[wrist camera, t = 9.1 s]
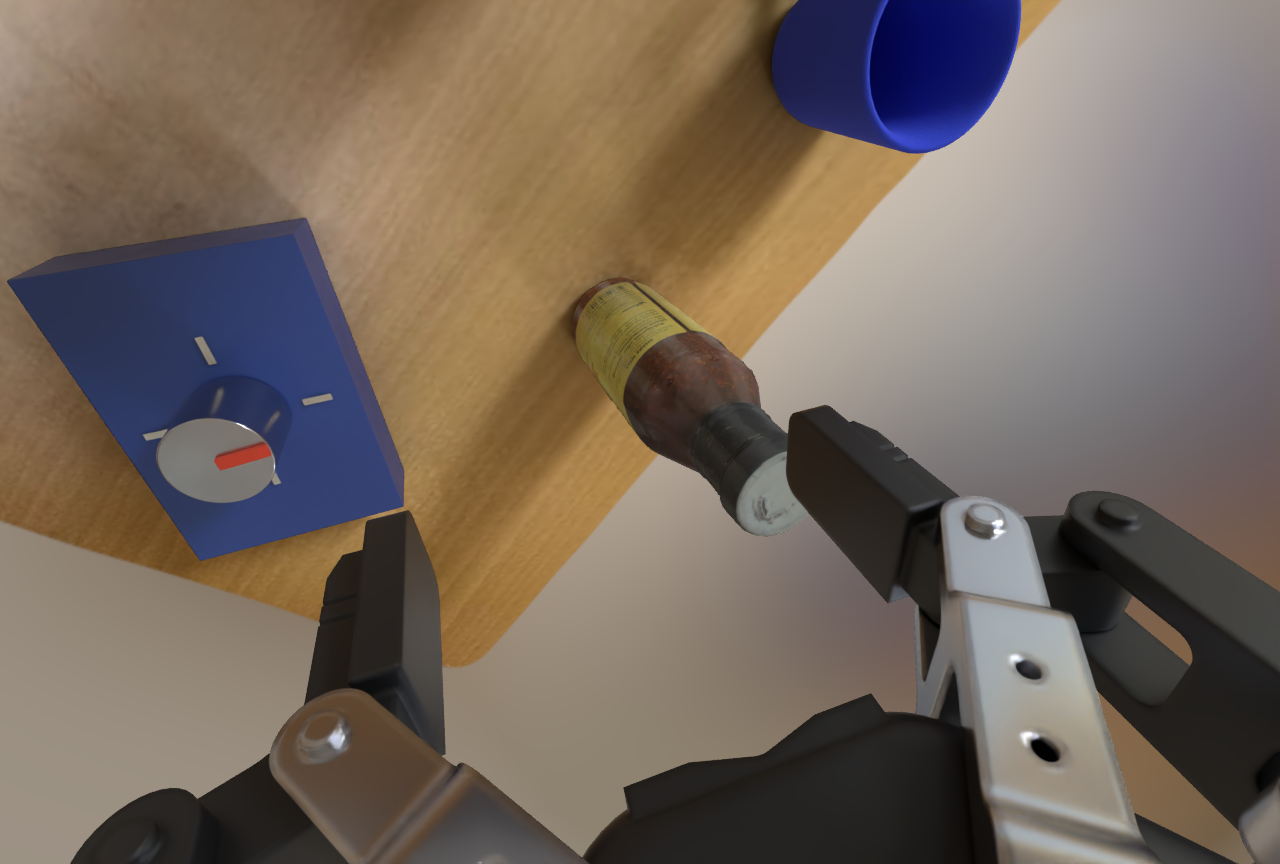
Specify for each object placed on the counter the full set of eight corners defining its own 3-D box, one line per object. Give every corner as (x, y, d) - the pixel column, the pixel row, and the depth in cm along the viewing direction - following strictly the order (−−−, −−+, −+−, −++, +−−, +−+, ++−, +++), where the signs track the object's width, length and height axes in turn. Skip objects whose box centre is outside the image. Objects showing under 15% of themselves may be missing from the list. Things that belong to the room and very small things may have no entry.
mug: (851, -154, 29) (1020, -244, 21) (887, 98, 36) (1024, 102, 28) (711, -77, 29) (826, -138, 21) (774, 162, 36) (879, 186, 28)
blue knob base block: (53, 257, 27) (3, 282, 24) (306, 217, 30) (292, 235, 26) (219, 517, 36) (199, 563, 33) (404, 470, 38) (403, 508, 35)
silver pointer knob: (219, 463, 30) (190, 520, 26) (168, 390, 28) (128, 441, 24) (307, 437, 31) (292, 489, 27) (265, 364, 29) (242, 409, 25)
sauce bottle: (563, 364, 38) (675, 572, 22) (574, 268, 35) (713, 425, 19) (656, 367, 41) (818, 557, 24) (673, 277, 38) (871, 425, 22)
